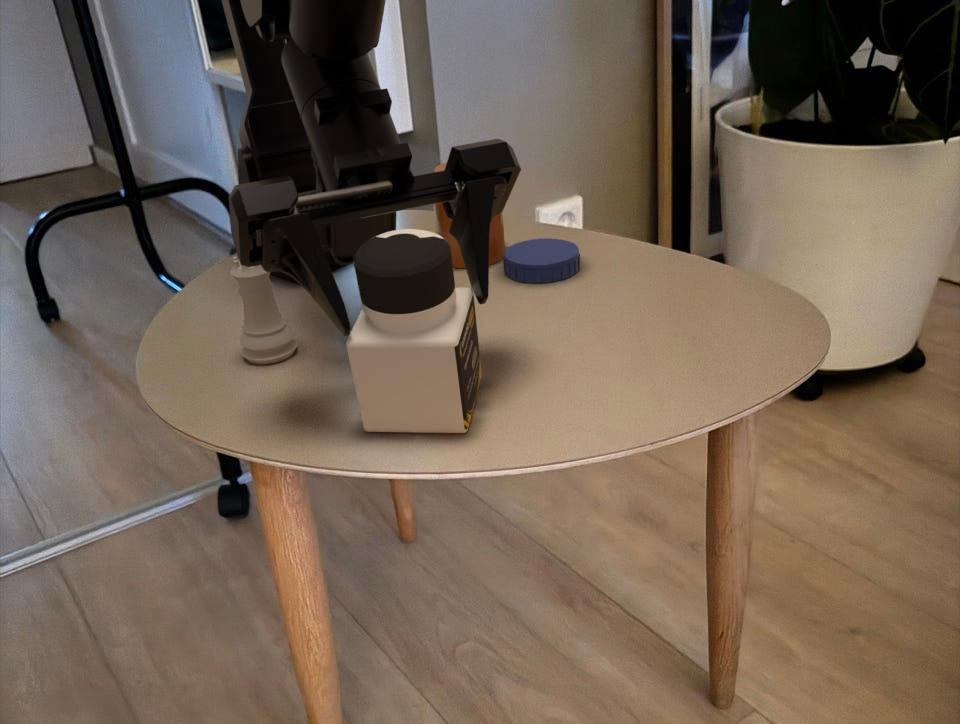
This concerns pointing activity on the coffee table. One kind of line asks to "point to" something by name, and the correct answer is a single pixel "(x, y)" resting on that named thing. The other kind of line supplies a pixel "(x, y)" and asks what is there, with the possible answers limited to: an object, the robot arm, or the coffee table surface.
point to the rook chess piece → (261, 317)
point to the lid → (541, 260)
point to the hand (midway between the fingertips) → (418, 316)
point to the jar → (443, 230)
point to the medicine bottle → (413, 337)
